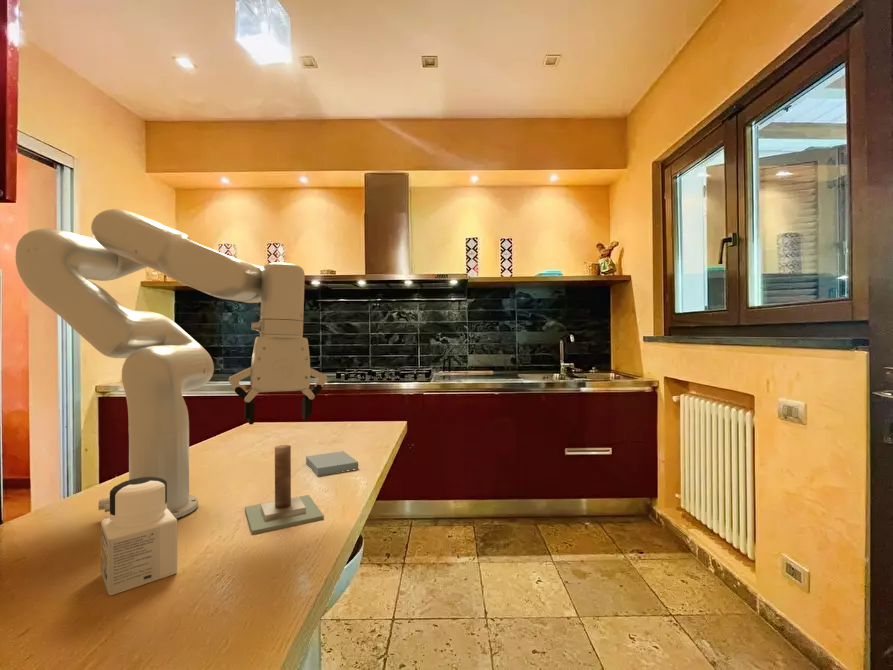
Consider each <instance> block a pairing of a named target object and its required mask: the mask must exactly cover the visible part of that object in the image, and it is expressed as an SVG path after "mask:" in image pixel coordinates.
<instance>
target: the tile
mask: <svg viewBox="0 0 893 670" xmlns="http://www.w3.org/2000/svg"><path fill="white" fill-rule="evenodd" d="M305 464H306V465H307V467H308V468H309V467H310V468H311V469H312V470H311V469H310V470H311V471H312V472H313V473H314V474H315V475H316V476H317V477H322V476H323V475H324V476H328V475H327V474H330V475H333V474H332V473H335V474H338V473H337V472H341V473H343V472H342V471H347V470H353V469H358V470H359V462H358V461H357V460H356V458H353V457H352V456H351V455H349V454H348V453H347V452H346V451H344V450H343V451H337V452H336V451H335V452H334V451H333V452H328V453H319V454H315V455H313V454H312V455H307V456H305ZM353 471H354V470H353ZM347 472H348V471H347Z"/></svg>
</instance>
